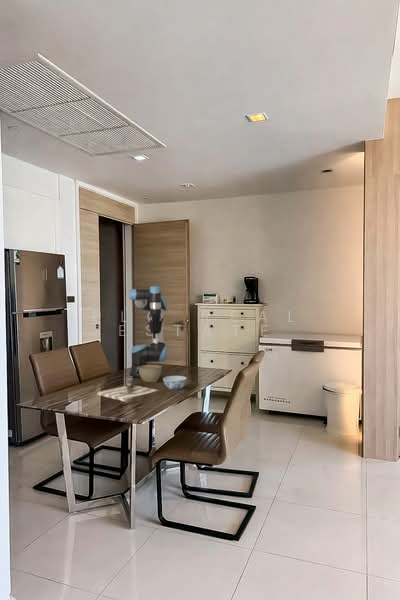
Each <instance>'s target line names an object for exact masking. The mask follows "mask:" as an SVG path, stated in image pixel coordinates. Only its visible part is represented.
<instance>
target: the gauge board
mask: <svg viewBox="0 0 400 600" xmlns="http://www.w3.org/2000/svg"><path fill="white" fill-rule="evenodd" d="M159 391H160V390H159V389H154V388H150V387H144V386H140V385H135V384H134V386H133V387H131V392H128V389H127V387H126V385H122V386H118V387H114V388H109V389H105V390H101V391H97V392H96V395H97V396H101V397H105V398H109V399H113V400H117V401H121V402H130V401H133V399H132V398H135V397H136V398H137V397H141V396H143V395H147V394H152V393H154V392H159Z"/></svg>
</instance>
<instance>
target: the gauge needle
mask: <svg viewBox="0 0 400 600" xmlns="http://www.w3.org/2000/svg"><path fill="white" fill-rule="evenodd" d="M134 382H135V381H134V378H133V377H129V376H126V377H125V386H126V387H127V389H128V392H131V387H133V386H134V385H135V383H134Z"/></svg>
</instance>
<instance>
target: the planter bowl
mask: <svg viewBox="0 0 400 600" xmlns="http://www.w3.org/2000/svg"><path fill="white" fill-rule="evenodd" d="M138 368H139V374H140V377H141V378H140V379H141V380H142V381H143V382H147V383H148V382H149V383H151V382H152V383H157V382H158V380H159V378H160V376H161V373H162V368H163V367H162V365H157V364H147V365H144V366H139V367H138Z"/></svg>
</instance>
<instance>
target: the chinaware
mask: <svg viewBox="0 0 400 600" xmlns="http://www.w3.org/2000/svg"><path fill="white" fill-rule="evenodd" d="M162 379H163V384H164V385H165V387H166V388H167V389H169V390H179V389H180V390H181V389H182V388H183V387H185V384H186V382H187V379H188V378H187V376H183V375H169V376H168V375H167V376H164V377H163V378H162Z"/></svg>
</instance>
